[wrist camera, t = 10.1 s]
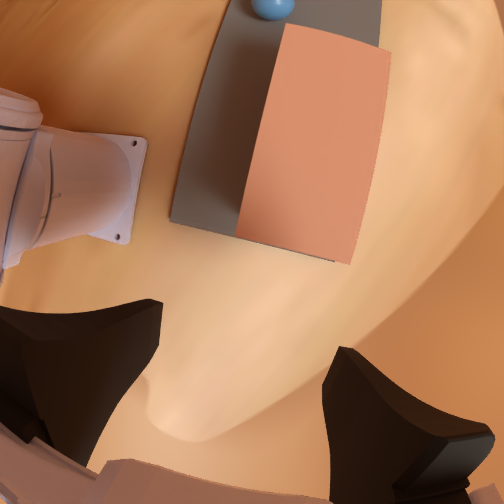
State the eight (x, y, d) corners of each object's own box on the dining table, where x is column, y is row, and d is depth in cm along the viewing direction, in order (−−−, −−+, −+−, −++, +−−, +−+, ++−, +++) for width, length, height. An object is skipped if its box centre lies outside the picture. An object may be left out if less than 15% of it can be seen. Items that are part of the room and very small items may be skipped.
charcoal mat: (172, 220, 20) (169, 221, 19) (253, -46, 14) (252, -49, 14) (333, 260, 19) (334, 262, 19) (381, -20, 14) (382, -23, 13)
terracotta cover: (248, 222, 19) (234, 236, 13) (284, 68, 16) (286, 23, 10) (328, 242, 18) (349, 264, 13) (361, 88, 16) (391, 52, 10)
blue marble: (248, 24, 16) (244, 2, 13) (258, -2, 15) (254, -25, 12) (289, 30, 16) (290, 8, 13) (297, 3, 15) (298, -19, 12)
